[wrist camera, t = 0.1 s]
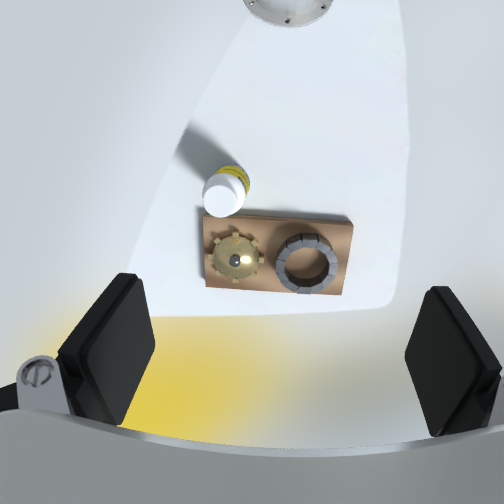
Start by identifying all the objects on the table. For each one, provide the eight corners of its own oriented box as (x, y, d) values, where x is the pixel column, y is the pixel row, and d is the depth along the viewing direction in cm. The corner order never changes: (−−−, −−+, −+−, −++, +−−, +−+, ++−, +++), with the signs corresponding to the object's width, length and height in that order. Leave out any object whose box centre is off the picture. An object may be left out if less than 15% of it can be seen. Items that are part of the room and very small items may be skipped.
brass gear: (208, 228, 47) (205, 234, 45) (265, 231, 47) (264, 237, 45) (210, 277, 51) (207, 284, 49) (262, 281, 50) (262, 288, 49)
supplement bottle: (258, 180, 45) (252, 201, 36) (233, 207, 47) (222, 233, 38) (229, 155, 44) (216, 169, 35) (205, 183, 46) (187, 203, 37)
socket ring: (278, 230, 46) (278, 237, 44) (338, 234, 46) (341, 241, 44) (274, 283, 50) (274, 292, 48) (330, 286, 50) (332, 295, 48)
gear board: (204, 213, 48) (202, 216, 46) (351, 222, 46) (353, 226, 45) (207, 281, 53) (205, 286, 52) (339, 290, 52) (341, 295, 50)
